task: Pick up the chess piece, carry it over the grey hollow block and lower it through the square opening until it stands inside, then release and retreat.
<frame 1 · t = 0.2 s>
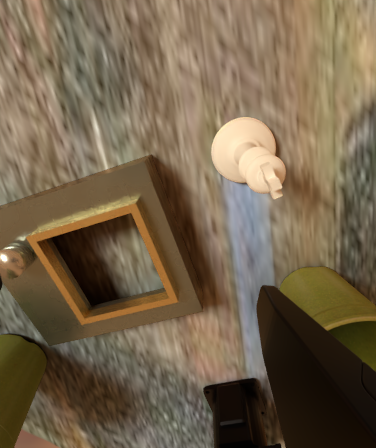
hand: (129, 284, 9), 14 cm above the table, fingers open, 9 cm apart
grey hollow block: (100, 252, 25), on the table
plant pot 2: (19, 353, 32), on the table
chess piece: (242, 150, 21), on the table
plant pot: (308, 289, 26), on the table
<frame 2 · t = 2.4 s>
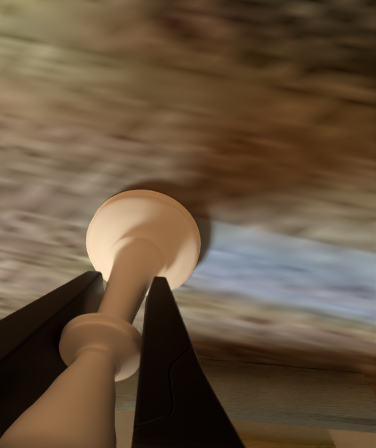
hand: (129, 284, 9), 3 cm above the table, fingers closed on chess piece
grey hollow block: (217, 443, 18), on the table
chess piece: (146, 240, 12), on the table, touching gripper
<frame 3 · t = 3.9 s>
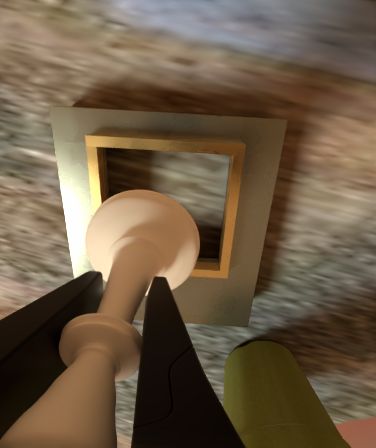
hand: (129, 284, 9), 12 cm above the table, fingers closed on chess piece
grey hollow block: (169, 219, 21), on the table
plant pot 2: (259, 362, 28), on the table
chess piece: (145, 240, 12), point 9 cm above the table, touching gripper
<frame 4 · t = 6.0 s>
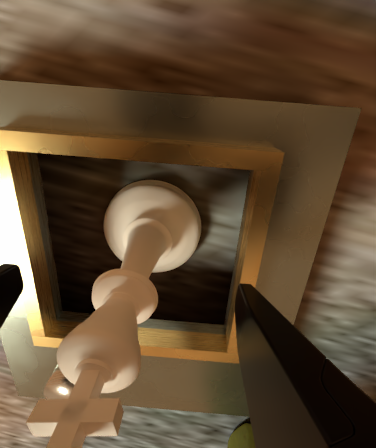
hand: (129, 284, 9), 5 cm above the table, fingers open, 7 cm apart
grey hollow block: (151, 257, 14), on the table
plant pot 2: (273, 438, 21), on the table
chess piece: (154, 224, 14), resting in grey hollow block
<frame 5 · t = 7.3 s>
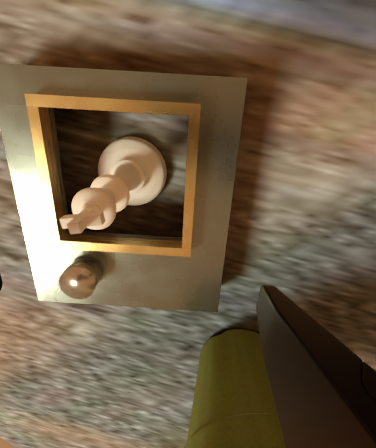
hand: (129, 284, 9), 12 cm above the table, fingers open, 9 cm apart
grey hollow block: (133, 196, 20), on the table
plant pot 2: (236, 352, 27), on the table
chess piece: (134, 171, 19), resting in grey hollow block
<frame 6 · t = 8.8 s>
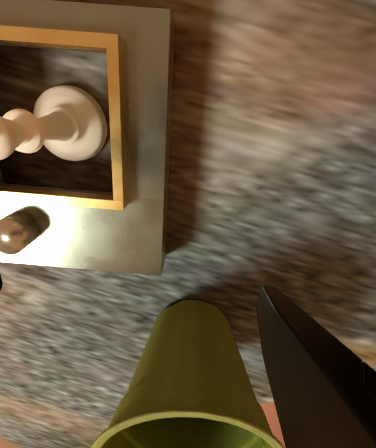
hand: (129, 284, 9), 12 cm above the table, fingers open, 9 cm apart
grey hollow block: (74, 152, 19), on the table
plant pot 2: (193, 326, 26), on the table
chess piece: (73, 124, 19), resting in grey hollow block
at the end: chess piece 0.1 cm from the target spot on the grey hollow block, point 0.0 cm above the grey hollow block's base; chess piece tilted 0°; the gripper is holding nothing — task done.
